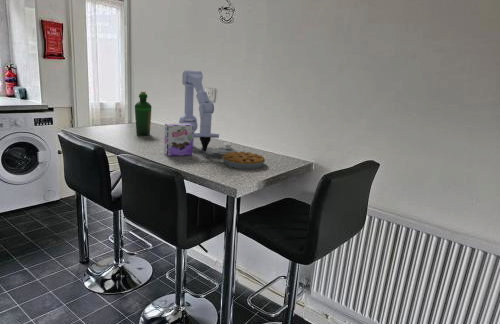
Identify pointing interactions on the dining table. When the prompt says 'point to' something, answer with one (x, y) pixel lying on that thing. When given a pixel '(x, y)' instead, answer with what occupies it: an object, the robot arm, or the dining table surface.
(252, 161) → the pie
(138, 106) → the bottle
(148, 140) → the dining table surface
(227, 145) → the slider back
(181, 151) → the candy box
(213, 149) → the slider front
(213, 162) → the dining table surface
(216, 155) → the control box
